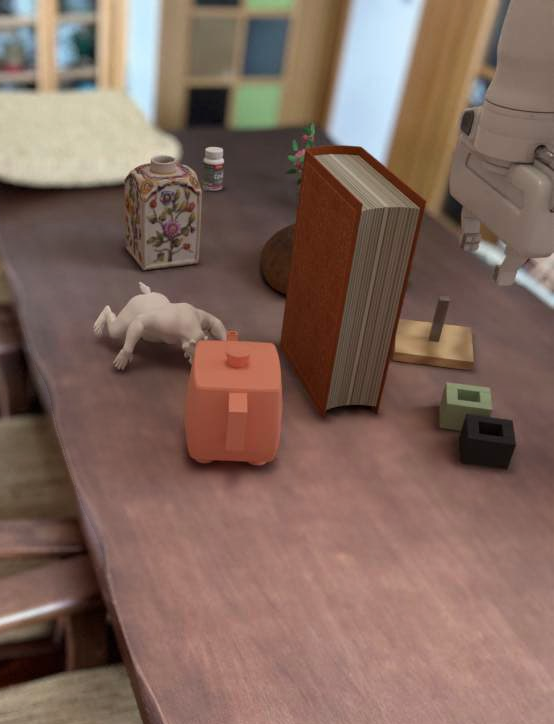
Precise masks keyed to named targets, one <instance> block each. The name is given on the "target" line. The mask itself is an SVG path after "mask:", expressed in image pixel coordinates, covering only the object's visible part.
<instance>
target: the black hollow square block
mask: <svg viewBox="0 0 554 724" xmlns="http://www.w3.org/2000/svg"><path fill="white" fill-rule="evenodd" d="M516 447H517V441H516V434H515V426H514V420H513V419H506V418H500V417H499V418H498V417H492V416H490V417H485V416H478V415H471V414H466V417H465V420H464V423H463V426H462V430H461V431H460V432H459V436H458V448H459V450H458V451H459V463H460V464H465V465H473V466H479V467H485V468H486V467H487V468H492V469H498V470H506V471H507V470H508V469H509V466H510V464H511V461H512V458H513V455H514V452H515V449H516Z"/></svg>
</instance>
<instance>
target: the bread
mask: <svg viewBox="0 0 554 724" xmlns="http://www.w3.org/2000/svg"><path fill="white" fill-rule="evenodd" d="M295 224H296V222H295V223H292V224H290V225H287V226H285V227H283V228H281V229H280V230H278V231H276V232H275V233H273V234H272V235H271V236H270V237H269V239H268V240H267V241H266V242H265V244H264V246H263V247H262V249H261V253H260V259H259V263H260V267H261V270H262V273H263V276H264V278H265V281H266V282H267V283H268V284H269V286H270V287H272V289H274V290H276V291H278V292H279V293H281V294H284V295H286V294H287V287H288V279H289V271H290V263H291V255H292V248H293V240H294V232H295ZM413 266H414V265H413V264H412V266H411V270H410V275H409V277H410V276H411V274H412V271H413V268H414V267H413Z"/></svg>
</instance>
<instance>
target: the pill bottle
mask: <svg viewBox="0 0 554 724" xmlns="http://www.w3.org/2000/svg"><path fill="white" fill-rule="evenodd" d="M204 150H205V151H204V155H205V157H204V158H203V160H202V161H203V162H202V179H201V180H202V181H201V188H202V189H203V190H206V191H208V192H216V191H220V190H222V189H223V184H222V183H224V169H225V159H224V157H223V156H224V149H223V148H222V147H218V146H209V147H206V148H205V149H204ZM202 182H203V183H204V184H208V185H220V184H222V185H221V186H218V187H208V186H205V185H203V184H202Z"/></svg>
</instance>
